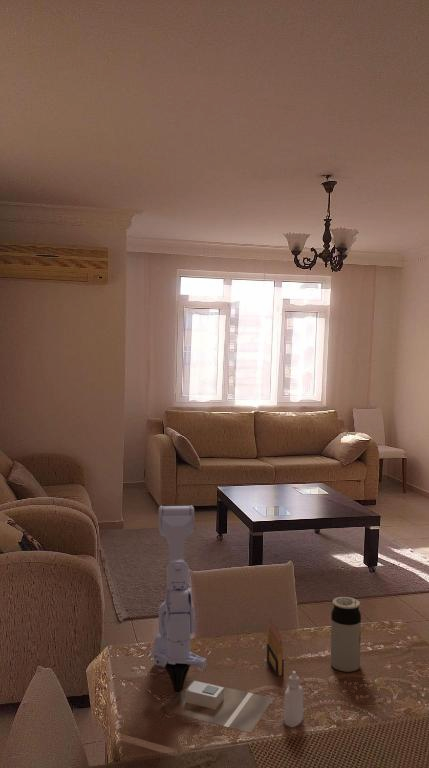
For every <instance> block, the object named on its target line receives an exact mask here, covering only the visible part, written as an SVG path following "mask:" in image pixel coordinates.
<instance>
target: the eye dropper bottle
mask: <svg viewBox="0 0 429 768" xmlns="http://www.w3.org/2000/svg"><path fill="white" fill-rule="evenodd" d="M283 698H284V699H283V702H284V703H283V705H284V706H283V707H284V708H283V724H284V725H285V726H287V727H289V728H295V727H297V726H299V725H300V724H301V723H302V721H303V718H304V687H303V686H302V685H300V677H299V676H298V675H297V673H296V671H295V670H293V671H292V672H291V675H289V677H288V686H287V687H286V689H285V692H284V697H283Z"/></svg>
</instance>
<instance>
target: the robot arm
mask: <svg viewBox="0 0 429 768" xmlns="http://www.w3.org/2000/svg"><path fill="white" fill-rule="evenodd" d="M194 527H195V507H194V506H193V505H192V504H191V505H167V506H166V505H165V506H164V505H160V506H159V507H158V532H159V535H160V536H162V537H164V538H166V542H167V544H168V564H167V565H166V592H165V597H164V598H165V599H164V601H163V602H162V603H161V604H160V605H159V607H158V633H157V634H156V636H155V638H154V642H153V648H152V649H151V650H150V658H151V659H153V667H156V666H158V667H159V666H160V667H162V668H165V670H166V672H167V674H168V676H169V679H170V680H171V685H172V688H173V692H175V693H178V694H179V693H181V692H182V691H183V690H184V689H183V688H184V683H185V680H186V676H187V673H188V671H190V670H189V669H190V667H191V666H192V667H197V668H199V669H200V670H204V669H206V667H207V658H205V657H202V656H199V655H198V654H195V653H193V652H192V651H191V635H194V633H195V630H196V625H195V624H196V623H195V622H196V619H195V617H196V616H195V606H194V604H193V594H192V590H191V584H190V567H189V564H188V563H187V562H186V561H185V548H186V547H185V545H186V544H185V543H186V538H187V537H189V536H191V535H192V534H193V532H194Z"/></svg>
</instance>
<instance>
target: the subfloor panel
mask: <svg viewBox="0 0 429 768" xmlns="http://www.w3.org/2000/svg"><path fill="white" fill-rule="evenodd" d="M194 681H198V682H202V683H206V684H211V685H215V686H219V687H224V700H223V701H222V702H221V704H220V705H219V706H218V707H217V709H216V710H215V709H211V708H207V707H203V706H199V705H195V704H191V703H187V702H186V689H187V688H188V687H189V686H190V685H191V684H192V683H193V682H194ZM179 693H180V694H179ZM179 693H178V695H177V696H176V698H175V699H173V701H172V702H170V703H169V705H168V706H167V707H166V708H164V712H167V713H170V714H175V715H178V716H183V717H186V718H189V719H195V720H197V721H202V722H206V723H208V724H209V723H210V724H212V725H213V724H214V725H217V726H220V727H225V728H228V729H232V730H237V731H241V732H245V733H249V734H252V732H253V730H254V729H255V727H256V726H257V724H258V723H259V721H260V719H261V718H262V717H263V716H264V713H265V712H266V710H268V708H269V706H270V705H271V703H272V702H273V700H274V698H273V697H270V696H264V695H261V694H256V693H251V692H248V691H244V690H239V689H234V688H230V687H226V686H223V685H218V684H212V683H209V682H205V681H200V680H196V679H193V680H191V681H190V683H189V684H188V685H187V686H186V687H185V688H184V689H182V690H181V691H180V692H179Z"/></svg>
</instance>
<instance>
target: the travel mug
mask: <svg viewBox="0 0 429 768" xmlns="http://www.w3.org/2000/svg"><path fill="white" fill-rule="evenodd" d="M332 604H333V608H332V610H331V612H330V616H331V617H330V619H331V620H330V621H331V622H330V625H331V626H330V627H331V628H330V666H332V667H333V668H334V669H336V670H338V671H340V672H347V673H349V672H355V671H357V670H359V669H360V667H361V639H362V638H361V635H362V631H361V629H362V614H361V612H360V610H359V609H360V606H361V602H360V601H359V600H358V599H356V598H353V597H348V596H339V597H335V598H334V599H333V600H332Z"/></svg>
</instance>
